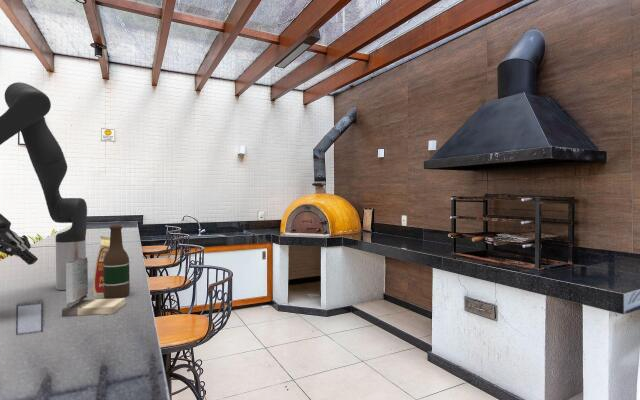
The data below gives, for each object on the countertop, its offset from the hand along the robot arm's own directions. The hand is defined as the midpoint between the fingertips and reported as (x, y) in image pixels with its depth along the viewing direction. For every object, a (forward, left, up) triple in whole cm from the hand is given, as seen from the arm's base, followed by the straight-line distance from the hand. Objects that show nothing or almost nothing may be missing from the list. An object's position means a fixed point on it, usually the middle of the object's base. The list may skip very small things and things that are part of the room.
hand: (33, 262), depth 104 cm
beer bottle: (-20, +11, -15) cm, 27 cm away
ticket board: (-5, +15, -15) cm, 22 cm away
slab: (-4, +10, -12) cm, 16 cm away
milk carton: (-26, +4, -15) cm, 30 cm away
